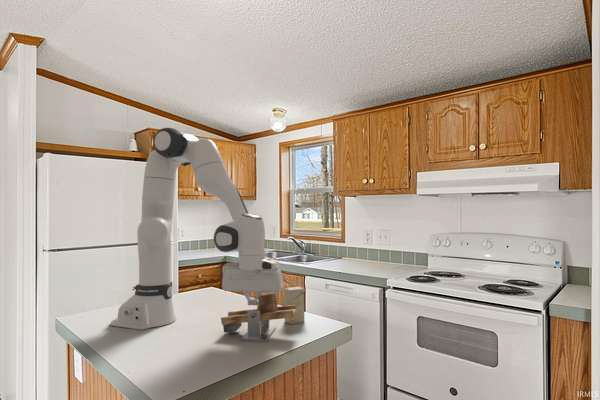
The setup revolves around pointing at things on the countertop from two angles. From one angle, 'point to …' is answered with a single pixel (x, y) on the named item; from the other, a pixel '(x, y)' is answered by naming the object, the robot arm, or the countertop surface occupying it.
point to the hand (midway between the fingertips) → (252, 304)
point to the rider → (268, 302)
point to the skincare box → (295, 303)
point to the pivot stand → (257, 327)
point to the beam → (238, 317)
